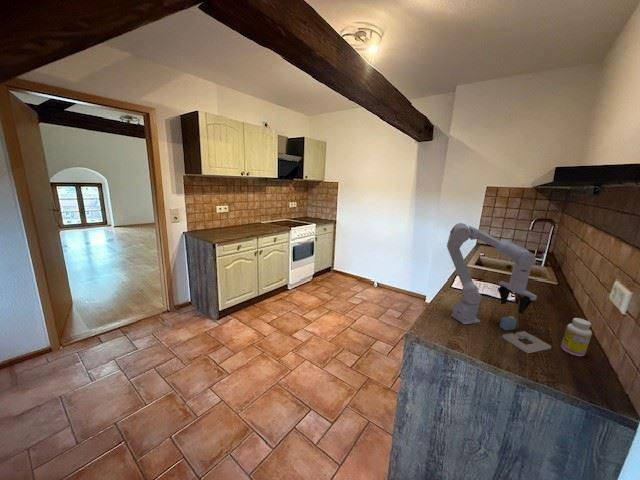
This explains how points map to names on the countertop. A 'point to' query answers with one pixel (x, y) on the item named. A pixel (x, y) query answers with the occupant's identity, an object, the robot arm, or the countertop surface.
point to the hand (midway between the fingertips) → (511, 308)
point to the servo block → (508, 323)
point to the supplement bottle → (577, 337)
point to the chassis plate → (530, 348)
